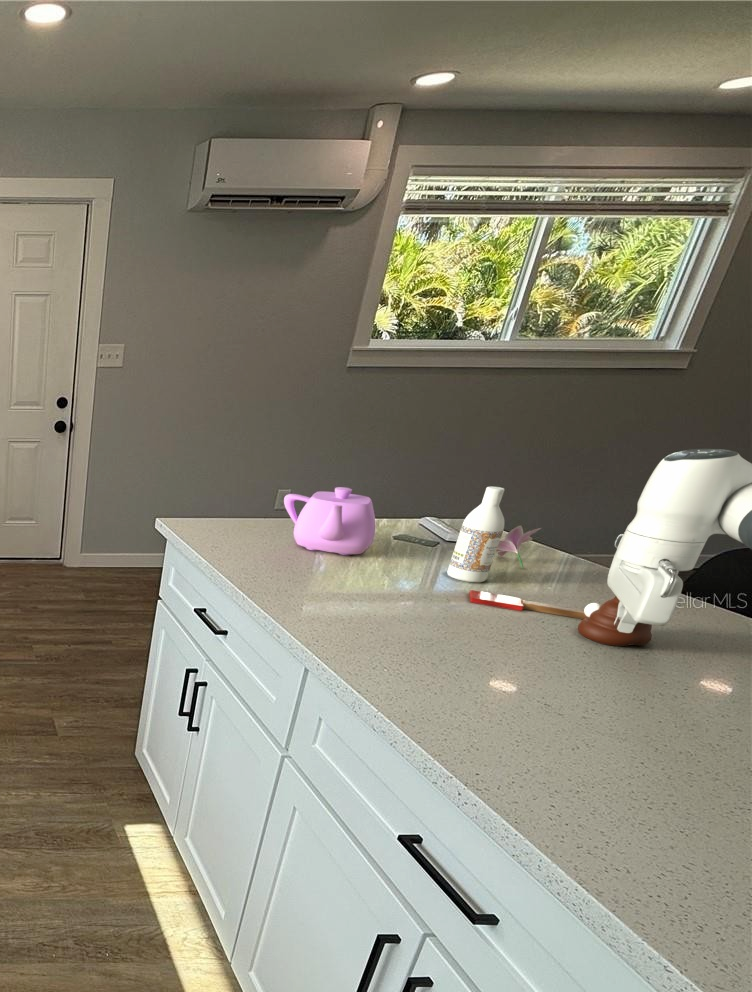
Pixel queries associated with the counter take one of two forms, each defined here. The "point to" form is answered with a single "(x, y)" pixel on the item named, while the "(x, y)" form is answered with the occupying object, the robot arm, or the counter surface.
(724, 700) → the counter surface
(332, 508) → the teapot
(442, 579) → the counter surface
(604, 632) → the poop emoji
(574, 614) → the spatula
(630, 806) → the counter surface
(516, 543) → the lily
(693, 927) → the counter surface
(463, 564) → the bath foam
